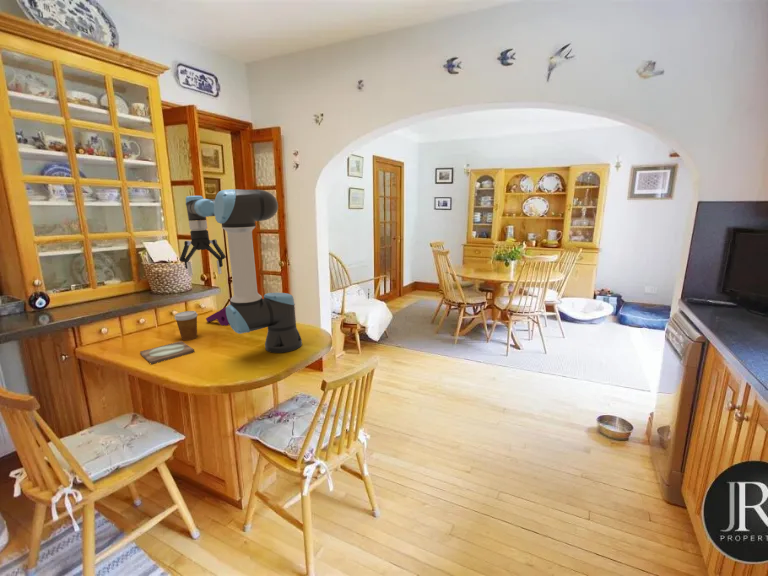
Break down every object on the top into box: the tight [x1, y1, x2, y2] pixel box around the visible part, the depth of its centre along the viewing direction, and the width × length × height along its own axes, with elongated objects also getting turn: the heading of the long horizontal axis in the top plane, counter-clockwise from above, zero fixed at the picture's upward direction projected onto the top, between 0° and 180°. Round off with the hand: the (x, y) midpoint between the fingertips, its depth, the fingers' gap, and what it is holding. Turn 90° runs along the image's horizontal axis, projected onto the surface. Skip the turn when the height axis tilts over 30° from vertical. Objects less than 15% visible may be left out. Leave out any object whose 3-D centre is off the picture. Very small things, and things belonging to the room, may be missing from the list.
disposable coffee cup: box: [174, 310, 198, 341], centre depth 171 cm, size 10×10×12 cm
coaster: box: [139, 340, 195, 365], centre depth 154 cm, size 16×16×1 cm
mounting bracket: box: [205, 307, 230, 327], centre depth 195 cm, size 9×8×18 cm
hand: (205, 274), depth 176 cm, fingers open, 13 cm apart
